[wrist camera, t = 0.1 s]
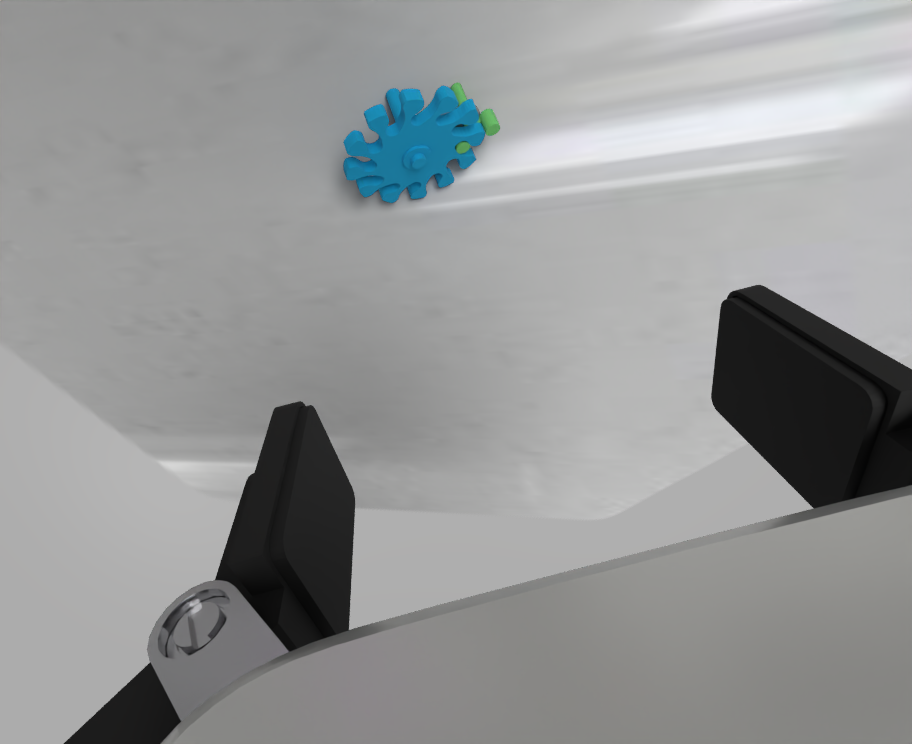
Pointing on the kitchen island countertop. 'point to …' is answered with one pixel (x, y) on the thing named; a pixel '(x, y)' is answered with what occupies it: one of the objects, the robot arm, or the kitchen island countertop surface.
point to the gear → (416, 142)
